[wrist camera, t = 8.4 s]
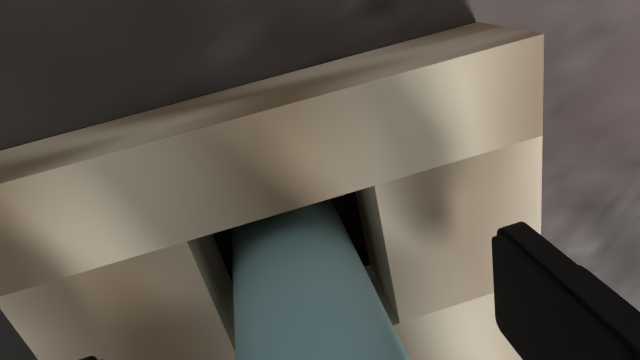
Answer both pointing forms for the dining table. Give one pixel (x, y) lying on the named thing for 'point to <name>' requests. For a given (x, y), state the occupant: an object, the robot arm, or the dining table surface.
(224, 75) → the dining table surface
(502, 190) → the socket block
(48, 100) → the dining table surface
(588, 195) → the dining table surface
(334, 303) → the peg
